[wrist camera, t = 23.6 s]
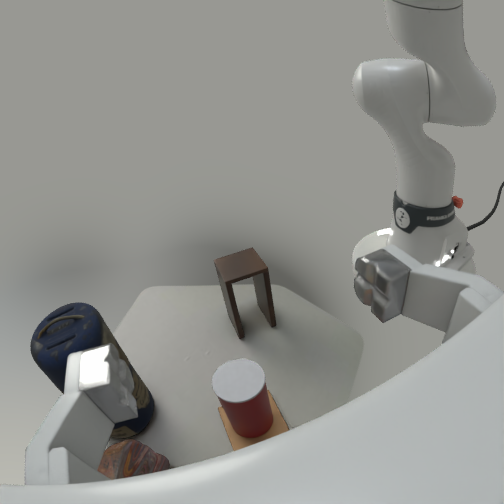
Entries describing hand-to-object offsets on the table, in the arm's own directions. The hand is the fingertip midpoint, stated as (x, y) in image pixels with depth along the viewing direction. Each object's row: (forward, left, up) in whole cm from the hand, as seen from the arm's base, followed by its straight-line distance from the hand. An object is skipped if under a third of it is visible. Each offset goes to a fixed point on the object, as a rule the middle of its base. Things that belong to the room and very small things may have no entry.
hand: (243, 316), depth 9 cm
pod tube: (0, -11, -27) cm, 29 cm away
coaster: (0, -11, -28) cm, 30 cm away
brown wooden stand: (-6, -28, -28) cm, 40 cm away
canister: (+16, -18, -28) cm, 37 cm away
